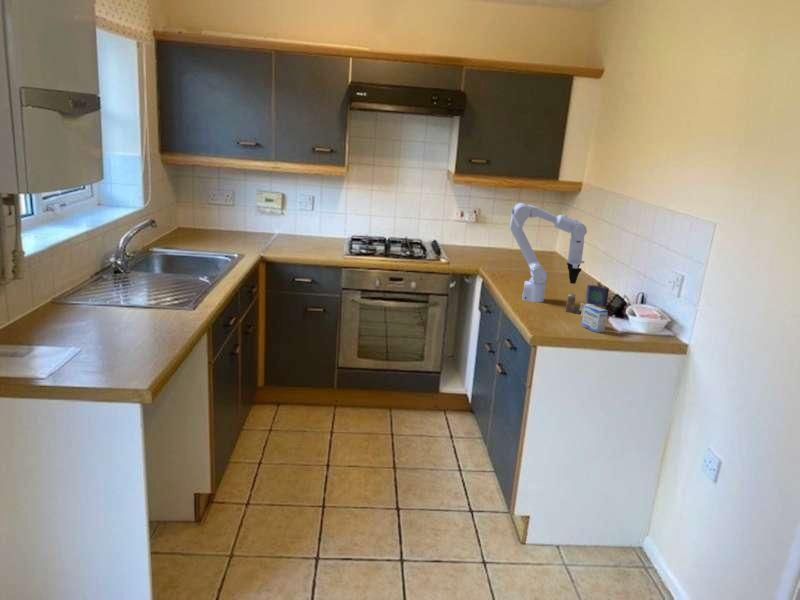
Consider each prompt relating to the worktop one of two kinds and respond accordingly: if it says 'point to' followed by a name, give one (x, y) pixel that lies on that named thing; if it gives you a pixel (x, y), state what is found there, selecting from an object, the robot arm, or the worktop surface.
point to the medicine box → (594, 318)
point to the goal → (582, 308)
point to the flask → (597, 294)
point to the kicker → (571, 304)
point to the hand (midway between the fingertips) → (572, 281)
